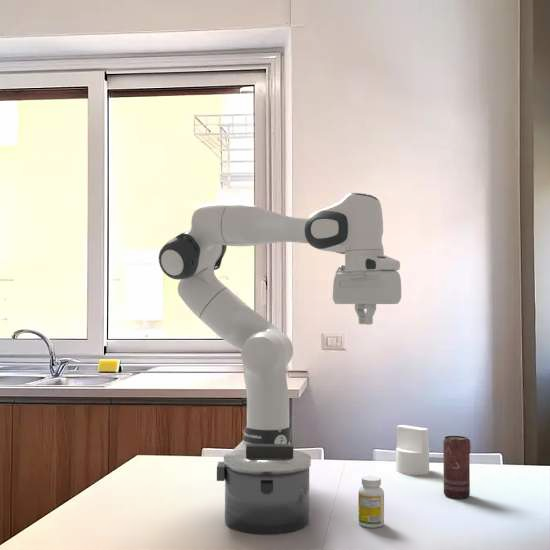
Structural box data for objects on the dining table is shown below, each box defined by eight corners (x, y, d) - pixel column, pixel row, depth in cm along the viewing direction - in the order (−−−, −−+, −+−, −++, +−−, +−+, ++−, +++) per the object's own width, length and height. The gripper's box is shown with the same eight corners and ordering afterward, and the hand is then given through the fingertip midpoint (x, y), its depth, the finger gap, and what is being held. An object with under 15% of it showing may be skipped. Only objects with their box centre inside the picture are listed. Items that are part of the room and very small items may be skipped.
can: (471, 500, 168) (471, 440, 168) (444, 498, 169) (443, 439, 169) (470, 493, 174) (469, 435, 174) (443, 491, 175) (443, 434, 175)
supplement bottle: (375, 530, 145) (374, 482, 146) (353, 524, 149) (353, 478, 149) (389, 523, 150) (388, 477, 150) (367, 518, 153) (367, 473, 153)
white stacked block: (435, 471, 196) (435, 427, 197) (416, 476, 190) (416, 431, 190) (408, 465, 203) (408, 423, 203) (389, 471, 196) (389, 427, 197)
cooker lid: (220, 474, 142) (220, 454, 143) (226, 454, 161) (226, 436, 161) (313, 474, 143) (313, 454, 143) (308, 454, 161) (308, 437, 161)
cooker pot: (212, 538, 140) (213, 477, 140) (221, 504, 163) (221, 452, 163) (312, 539, 140) (312, 478, 140) (306, 505, 163) (306, 452, 164)
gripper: (325, 265, 169) (326, 323, 169) (383, 261, 152) (385, 326, 152) (346, 265, 173) (347, 322, 172) (405, 261, 156) (406, 324, 155)
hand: (365, 324), depth 162 cm, fingers closed
